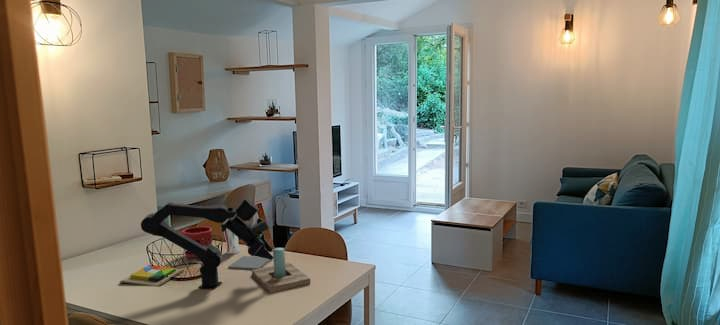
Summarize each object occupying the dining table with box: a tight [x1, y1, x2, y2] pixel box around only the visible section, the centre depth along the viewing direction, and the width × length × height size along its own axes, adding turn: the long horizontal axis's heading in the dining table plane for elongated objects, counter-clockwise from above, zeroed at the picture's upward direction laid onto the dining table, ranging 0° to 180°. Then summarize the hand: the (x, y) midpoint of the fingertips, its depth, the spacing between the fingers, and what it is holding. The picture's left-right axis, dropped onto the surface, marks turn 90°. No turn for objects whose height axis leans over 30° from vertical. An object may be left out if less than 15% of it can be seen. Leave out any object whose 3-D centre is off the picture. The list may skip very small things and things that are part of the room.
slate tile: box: [227, 255, 272, 271], centre depth 216 cm, size 14×14×1 cm
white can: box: [223, 219, 241, 255], centre depth 232 cm, size 7×7×15 cm
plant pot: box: [181, 226, 213, 259], centre depth 230 cm, size 13×13×12 cm
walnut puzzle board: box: [251, 262, 311, 293], centre depth 196 cm, size 22×16×2 cm
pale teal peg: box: [272, 247, 287, 279], centre depth 196 cm, size 4×4×12 cm
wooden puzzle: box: [119, 264, 185, 287], centre depth 204 cm, size 18×19×4 cm
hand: (272, 254), depth 195 cm, fingers open, 9 cm apart
